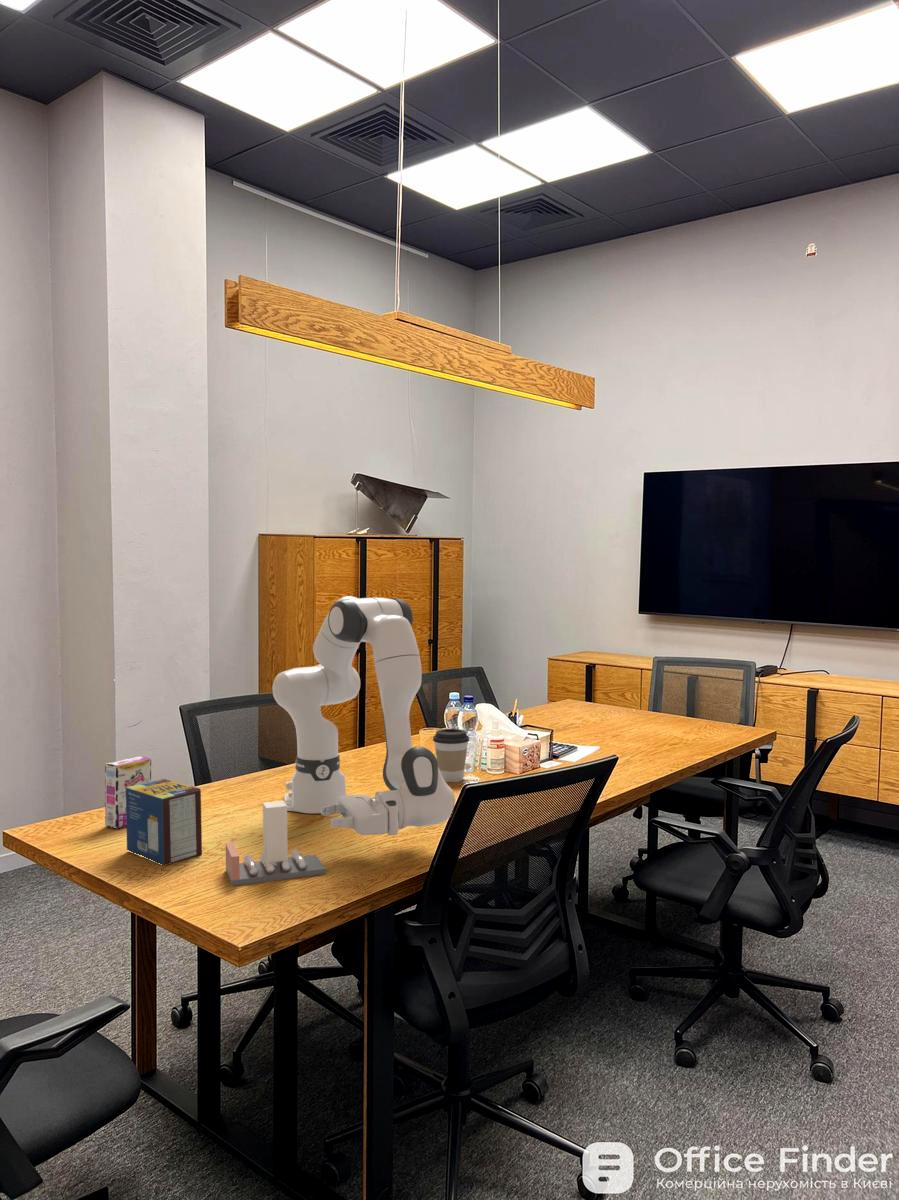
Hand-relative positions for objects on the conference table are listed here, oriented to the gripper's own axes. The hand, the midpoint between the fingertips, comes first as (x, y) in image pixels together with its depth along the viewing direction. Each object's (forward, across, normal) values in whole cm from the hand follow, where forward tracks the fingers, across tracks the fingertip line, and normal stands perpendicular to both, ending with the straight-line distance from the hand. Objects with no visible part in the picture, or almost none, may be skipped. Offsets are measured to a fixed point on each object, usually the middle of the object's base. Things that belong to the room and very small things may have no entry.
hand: (326, 817), depth 200 cm
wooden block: (+11, 0, +8) cm, 14 cm away
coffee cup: (-54, -62, +11) cm, 83 cm away
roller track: (+11, 0, +11) cm, 16 cm away
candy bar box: (+40, -50, +11) cm, 65 cm away
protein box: (+33, -22, +11) cm, 42 cm away
